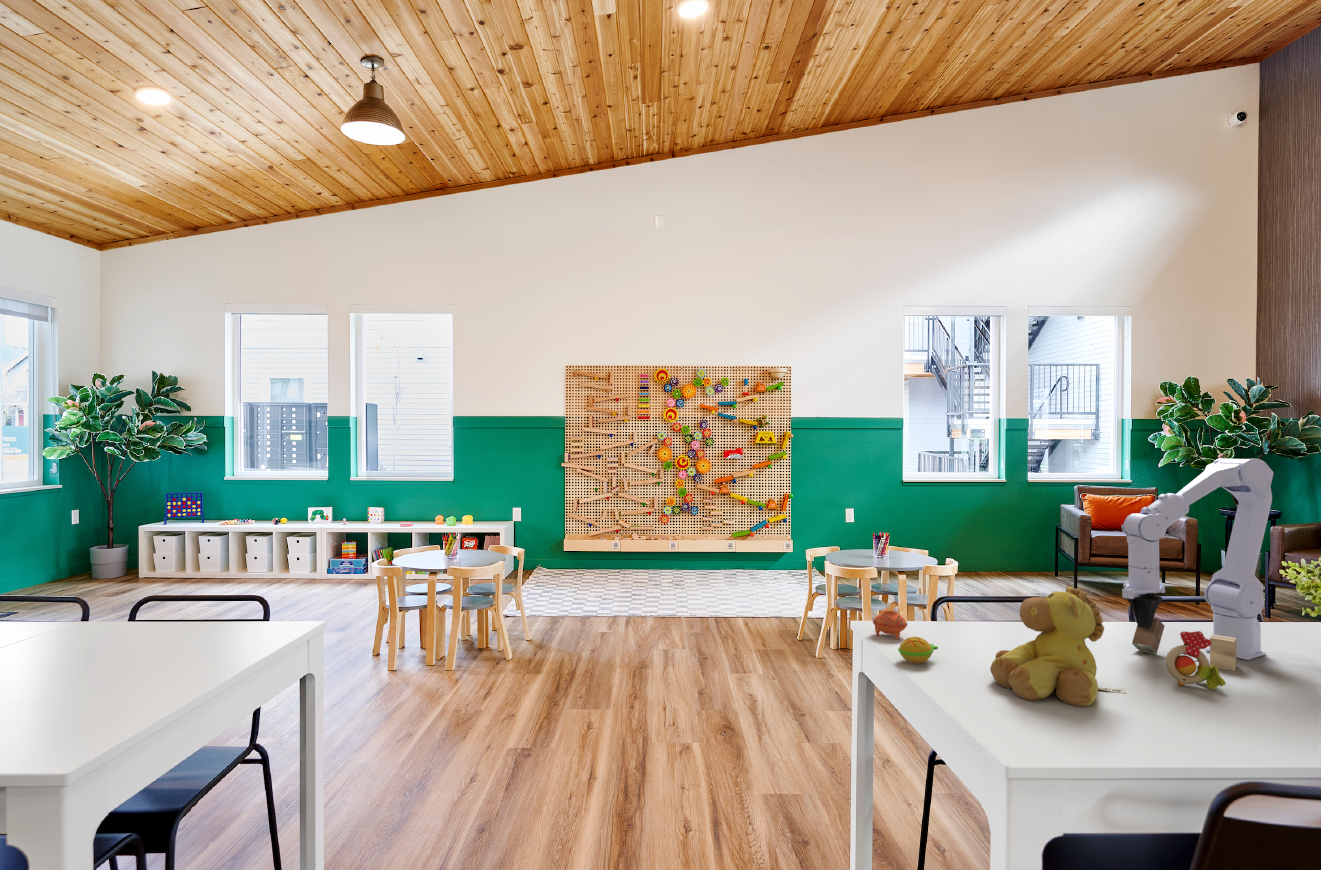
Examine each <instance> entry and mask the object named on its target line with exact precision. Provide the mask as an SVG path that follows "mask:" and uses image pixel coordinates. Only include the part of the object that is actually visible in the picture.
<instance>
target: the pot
mask: <svg viewBox="0 0 1321 870" xmlns="http://www.w3.org/2000/svg"><path fill="white" fill-rule="evenodd" d="M872 623H873V625H874V631H875V634H876V635H877V636H879V635H880V633H884V634H886V635H894V637H895V639H896V640H899V639H900V636H901V633H902V631H904V630H906V628H907V626H908V622H907V620H906V619H905V618H904V617H903V616H902V615H901V614H899V613H898V611H896V610H882V611H881V612H880V613H879V614H877V615H876V616H875V617H874V619H873V620H872Z"/></svg>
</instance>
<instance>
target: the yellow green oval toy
mask: <svg viewBox="0 0 1321 870" xmlns="http://www.w3.org/2000/svg"><path fill="white" fill-rule="evenodd" d="M938 649H939V647H938V646H937V645H934V644H932V643H929V642H928V641H927V640H926V639H924V638H922V637H919V636H910V637H908V638H905V639H904V640H903V641H902V642H901V643H900V645H899V646H898V649H897V651H898V652H899V654H900V656H901V657H902V658H903V660H905V661H906V662H909V663H910V664H916V665H918V664H923V663H925V662H927V661H928V660H929V659H930V658H931V657H932V655H933V654H934V650H935V651H936V650H938Z"/></svg>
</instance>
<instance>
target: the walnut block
mask: <svg viewBox="0 0 1321 870" xmlns="http://www.w3.org/2000/svg"><path fill="white" fill-rule="evenodd" d="M1164 629H1165V624H1164V623H1162V622H1161V620H1160V619H1159V618H1157V617H1156V618H1155V617H1154V619H1153V622H1152V626H1151V628H1149V629H1146V628H1141V627H1138V625H1137V624H1136V629H1135V631H1134V636H1133V638H1132V642H1131V644H1132V646H1134V647H1135V648H1136V649H1137V650H1138V651H1140V652H1145V653H1149V654H1153V655H1158V651H1159V647H1160V645H1161V641H1162V637H1163V634H1164Z"/></svg>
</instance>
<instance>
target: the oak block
mask: <svg viewBox="0 0 1321 870" xmlns="http://www.w3.org/2000/svg"><path fill="white" fill-rule="evenodd" d="M1209 640H1211V645H1210V646H1209V648H1210V652H1209V664H1210V666H1211V665H1214V666H1216V667H1217V668H1218V669H1223V670H1228V671H1229V670H1230V671H1236V669H1237V666H1238V658H1237V638H1233V637H1226V636H1220V635H1213V634H1211V636H1210V637H1209Z"/></svg>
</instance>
